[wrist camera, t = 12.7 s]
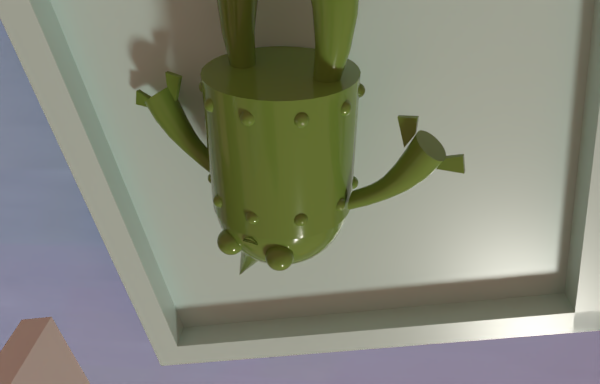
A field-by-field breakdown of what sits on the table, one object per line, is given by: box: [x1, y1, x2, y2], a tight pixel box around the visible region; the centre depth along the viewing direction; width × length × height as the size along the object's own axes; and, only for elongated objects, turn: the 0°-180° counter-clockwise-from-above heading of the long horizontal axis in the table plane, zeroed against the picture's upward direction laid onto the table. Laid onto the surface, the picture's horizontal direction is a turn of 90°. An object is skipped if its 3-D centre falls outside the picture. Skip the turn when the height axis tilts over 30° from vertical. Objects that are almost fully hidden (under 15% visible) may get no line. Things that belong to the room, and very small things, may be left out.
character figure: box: [136, 0, 465, 275], centre depth 18 cm, size 12×5×12 cm
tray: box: [0, 0, 600, 366], centre depth 20 cm, size 20×20×2 cm
